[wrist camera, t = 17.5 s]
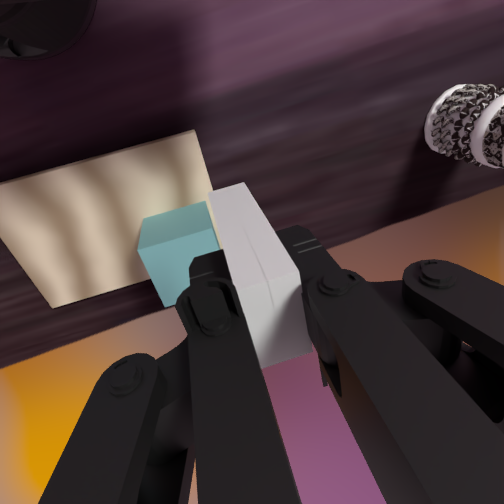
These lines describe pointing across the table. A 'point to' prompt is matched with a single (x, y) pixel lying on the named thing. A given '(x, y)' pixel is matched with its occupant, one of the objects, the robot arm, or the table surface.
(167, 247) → the teal cube
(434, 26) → the table surface
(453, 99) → the decorative candle
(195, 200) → the base board
